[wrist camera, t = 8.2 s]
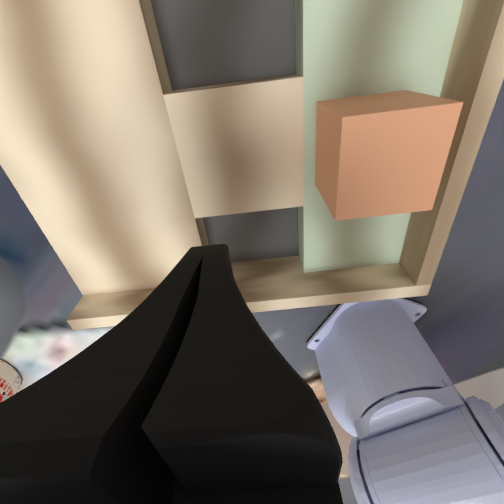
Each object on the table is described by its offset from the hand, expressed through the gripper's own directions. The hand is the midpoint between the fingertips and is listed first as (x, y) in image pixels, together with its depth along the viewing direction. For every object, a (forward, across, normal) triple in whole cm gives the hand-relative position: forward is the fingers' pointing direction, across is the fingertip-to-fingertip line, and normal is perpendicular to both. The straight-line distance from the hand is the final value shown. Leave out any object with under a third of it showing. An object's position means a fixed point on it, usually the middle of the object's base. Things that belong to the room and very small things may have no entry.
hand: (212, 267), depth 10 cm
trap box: (+10, 0, -2) cm, 10 cm away
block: (+8, -8, -2) cm, 11 cm away
